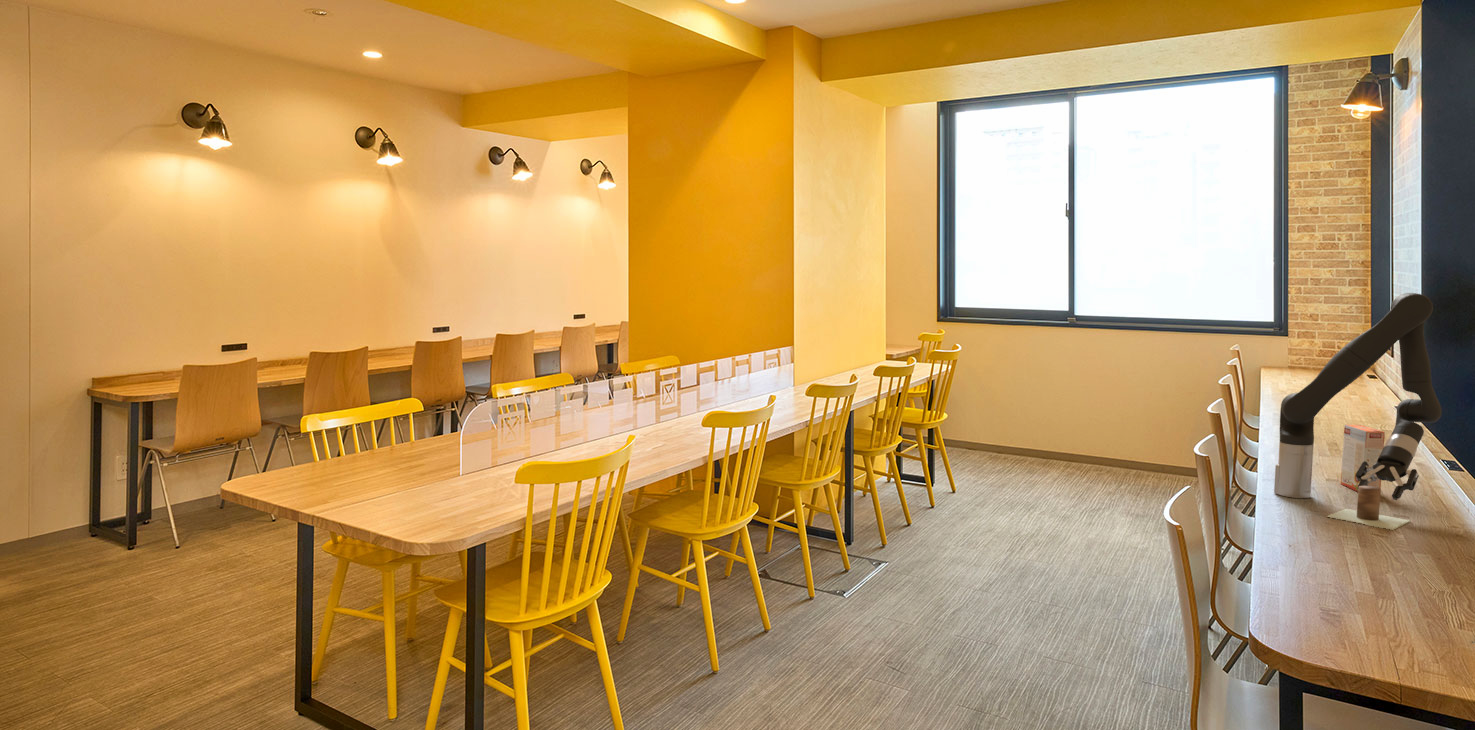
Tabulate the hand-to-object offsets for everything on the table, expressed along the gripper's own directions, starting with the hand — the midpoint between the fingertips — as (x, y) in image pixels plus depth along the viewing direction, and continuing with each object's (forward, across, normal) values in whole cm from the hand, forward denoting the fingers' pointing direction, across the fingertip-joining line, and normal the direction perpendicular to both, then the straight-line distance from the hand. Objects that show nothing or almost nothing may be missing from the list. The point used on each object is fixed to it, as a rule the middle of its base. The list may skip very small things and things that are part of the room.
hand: (1377, 495), depth 249 cm
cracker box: (-19, -19, +29) cm, 39 cm away
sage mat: (+8, 0, +1) cm, 8 cm away
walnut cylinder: (+8, 0, +1) cm, 8 cm away
